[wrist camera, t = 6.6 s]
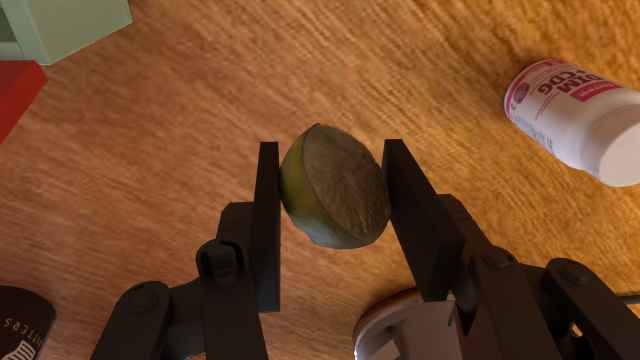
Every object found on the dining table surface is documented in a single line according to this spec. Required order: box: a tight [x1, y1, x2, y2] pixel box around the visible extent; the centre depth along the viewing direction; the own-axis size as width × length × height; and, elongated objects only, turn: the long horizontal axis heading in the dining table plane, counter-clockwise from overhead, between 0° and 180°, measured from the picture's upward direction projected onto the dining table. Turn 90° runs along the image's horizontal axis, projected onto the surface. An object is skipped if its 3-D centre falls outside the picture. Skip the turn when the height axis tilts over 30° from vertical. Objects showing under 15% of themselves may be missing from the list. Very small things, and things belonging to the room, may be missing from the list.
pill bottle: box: [504, 59, 640, 187], centre depth 20 cm, size 5×5×8 cm
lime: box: [278, 123, 391, 249], centre depth 14 cm, size 4×5×5 cm
